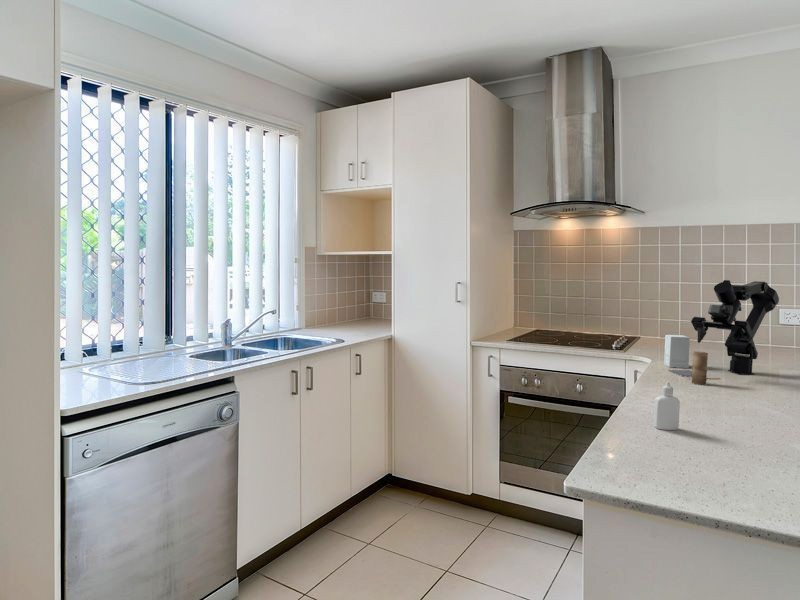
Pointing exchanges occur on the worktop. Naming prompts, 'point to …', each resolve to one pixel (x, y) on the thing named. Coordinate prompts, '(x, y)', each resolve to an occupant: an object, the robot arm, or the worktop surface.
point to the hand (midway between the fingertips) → (711, 343)
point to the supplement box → (676, 351)
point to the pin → (699, 368)
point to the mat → (682, 372)
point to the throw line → (708, 378)
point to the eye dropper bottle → (666, 410)
